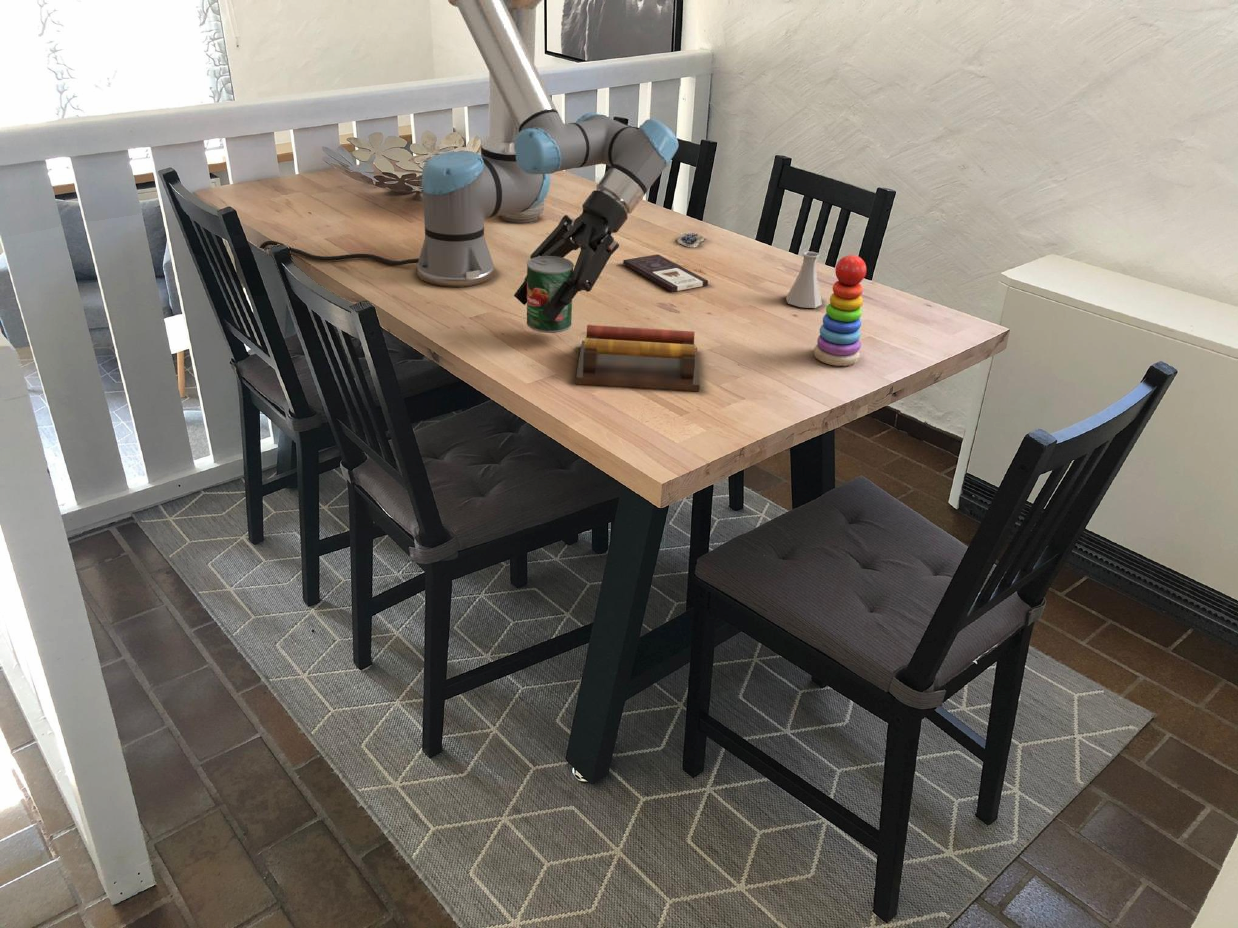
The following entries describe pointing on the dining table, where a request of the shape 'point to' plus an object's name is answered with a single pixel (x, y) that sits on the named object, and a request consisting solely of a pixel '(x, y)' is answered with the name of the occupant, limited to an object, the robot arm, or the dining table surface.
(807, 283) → the flask
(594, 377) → the rod stand
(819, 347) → the stacking toy
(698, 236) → the blueberries
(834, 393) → the dining table surface
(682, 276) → the chocolate bar
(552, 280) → the canned tomato
